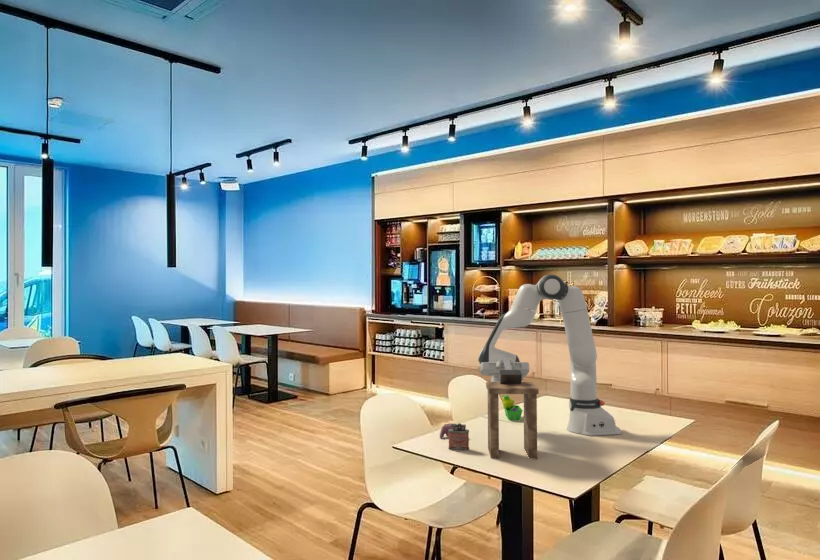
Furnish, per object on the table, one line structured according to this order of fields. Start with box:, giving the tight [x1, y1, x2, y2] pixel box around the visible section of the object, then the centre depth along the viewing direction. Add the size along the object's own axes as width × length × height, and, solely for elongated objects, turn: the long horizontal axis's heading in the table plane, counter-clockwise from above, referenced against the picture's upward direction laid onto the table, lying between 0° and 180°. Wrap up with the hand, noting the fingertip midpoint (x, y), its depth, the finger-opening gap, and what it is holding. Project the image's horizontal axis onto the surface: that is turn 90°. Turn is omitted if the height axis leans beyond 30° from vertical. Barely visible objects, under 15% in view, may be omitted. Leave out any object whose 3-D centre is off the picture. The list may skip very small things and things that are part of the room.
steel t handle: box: [499, 358, 522, 384], centre depth 217 cm, size 8×18×4 cm, turn 177°
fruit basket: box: [501, 394, 524, 421], centre depth 261 cm, size 11×9×11 cm
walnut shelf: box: [485, 381, 539, 460], centre depth 206 cm, size 18×14×26 cm
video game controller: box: [439, 422, 457, 439], centre depth 229 cm, size 10×5×7 cm, turn 72°
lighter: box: [448, 422, 470, 451], centre depth 212 cm, size 8×3×10 cm, turn 84°
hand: (506, 361), depth 222 cm, fingers closed on steel t handle, 2 cm apart
